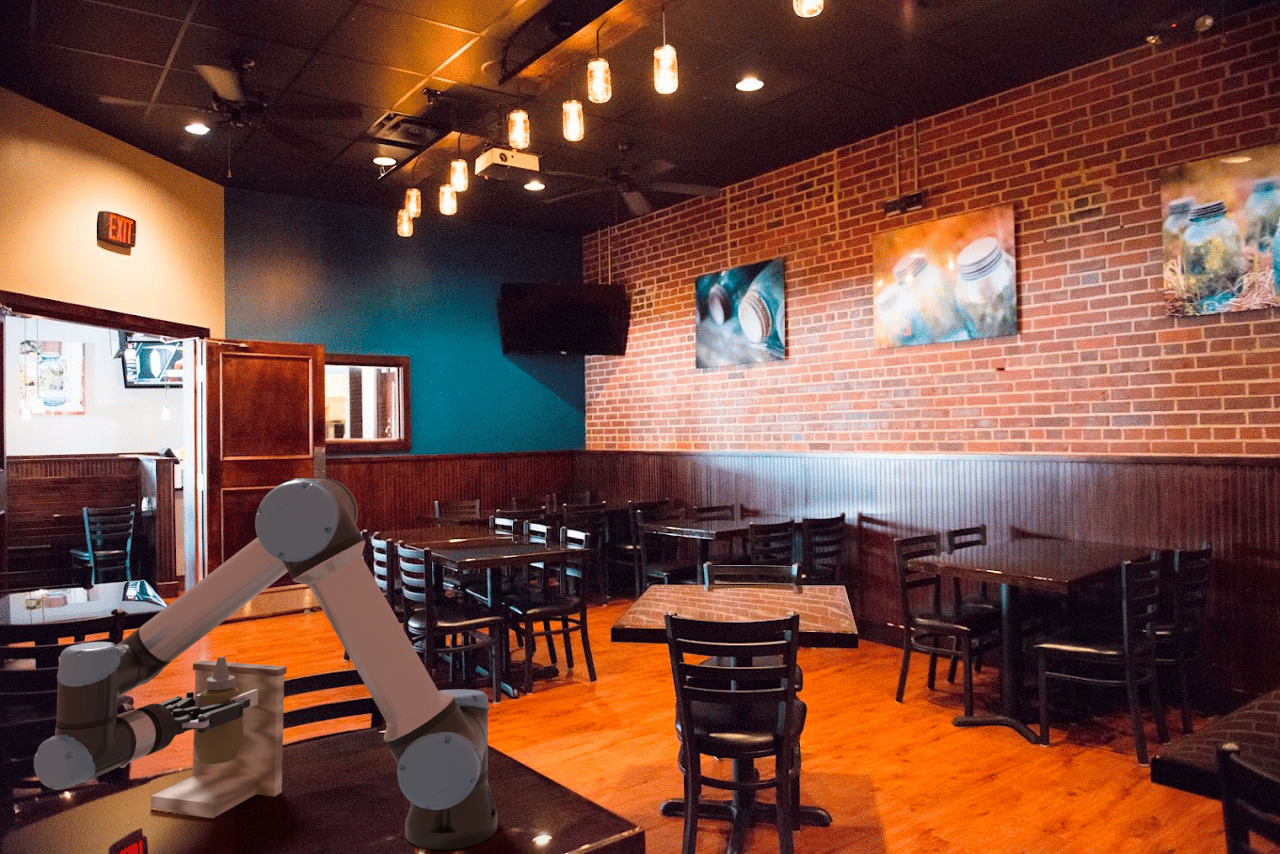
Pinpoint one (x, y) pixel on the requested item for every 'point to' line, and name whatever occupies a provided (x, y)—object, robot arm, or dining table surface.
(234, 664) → the wooden display stand
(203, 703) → the squeeze bottle
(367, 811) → the dining table surface
